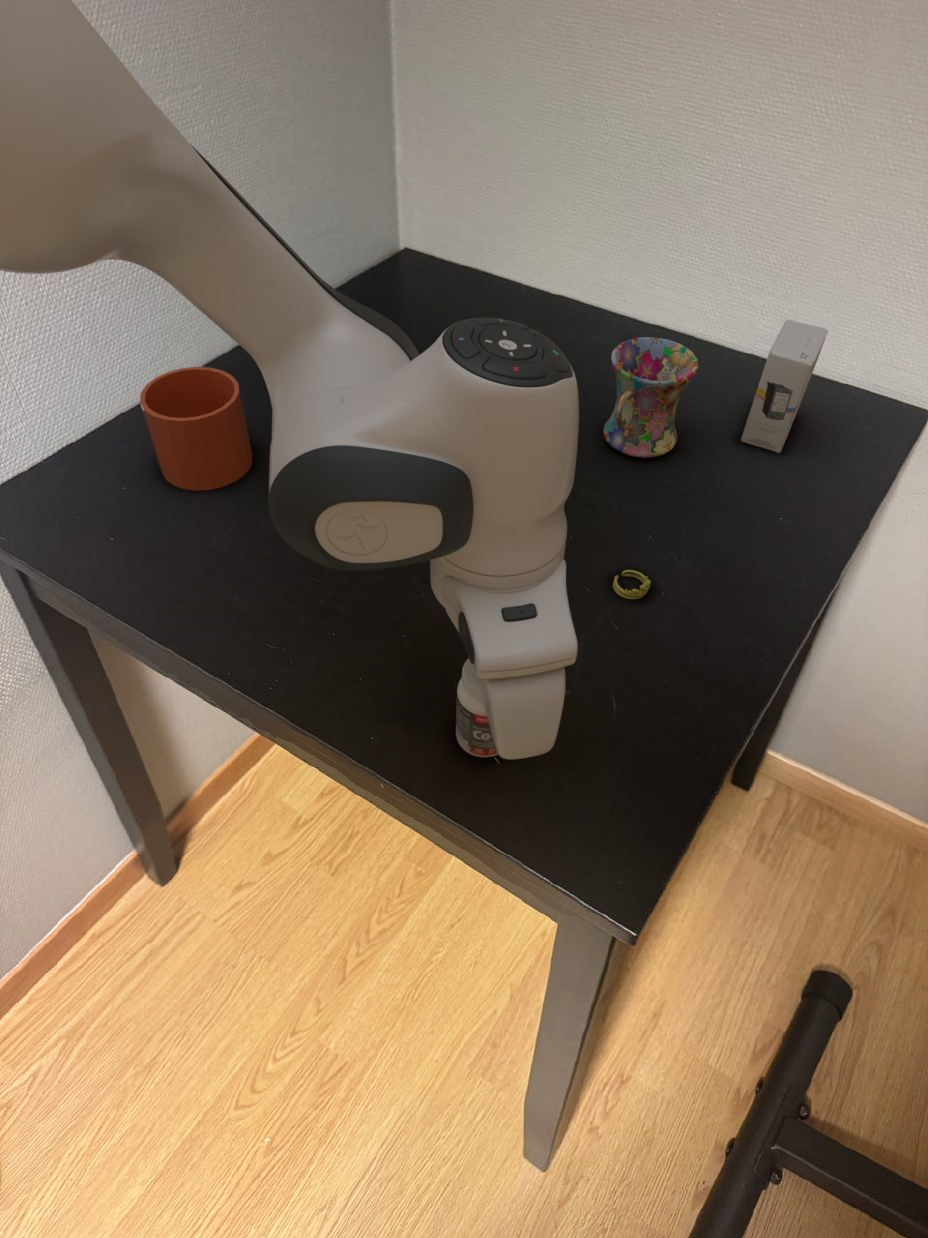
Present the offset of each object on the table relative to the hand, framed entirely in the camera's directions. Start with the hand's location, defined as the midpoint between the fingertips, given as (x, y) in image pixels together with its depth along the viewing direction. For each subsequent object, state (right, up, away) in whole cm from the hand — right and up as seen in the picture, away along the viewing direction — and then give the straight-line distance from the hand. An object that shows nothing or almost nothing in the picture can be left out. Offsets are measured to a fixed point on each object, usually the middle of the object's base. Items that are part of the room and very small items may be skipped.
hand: (489, 690), depth 67 cm
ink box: (+34, +28, +35) cm, 56 cm away
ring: (+14, +8, +17) cm, 23 cm away
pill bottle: (0, -4, +5) cm, 6 cm away
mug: (+18, +25, +32) cm, 45 cm away
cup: (-31, +23, +29) cm, 48 cm away
